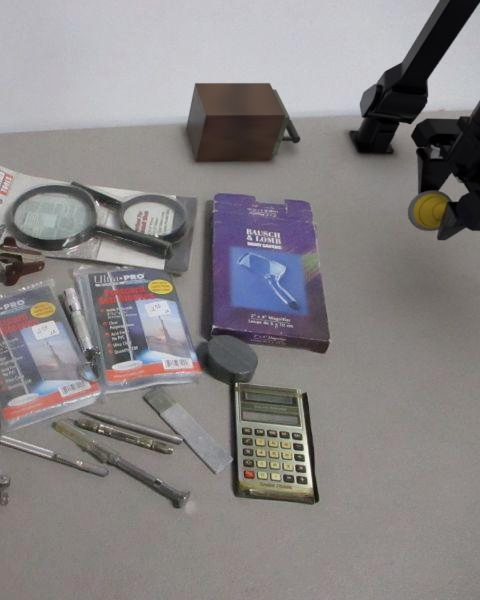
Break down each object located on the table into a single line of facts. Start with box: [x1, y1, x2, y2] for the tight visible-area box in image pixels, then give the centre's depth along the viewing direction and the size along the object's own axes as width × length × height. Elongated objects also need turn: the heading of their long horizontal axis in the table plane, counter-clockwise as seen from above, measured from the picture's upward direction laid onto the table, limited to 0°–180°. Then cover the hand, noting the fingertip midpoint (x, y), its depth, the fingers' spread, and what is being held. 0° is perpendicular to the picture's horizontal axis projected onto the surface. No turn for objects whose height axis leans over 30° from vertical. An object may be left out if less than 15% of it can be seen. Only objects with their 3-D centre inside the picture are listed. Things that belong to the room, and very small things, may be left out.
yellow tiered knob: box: [407, 190, 452, 232], centre depth 78 cm, size 5×5×10 cm
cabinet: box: [185, 82, 285, 163], centre depth 104 cm, size 13×10×9 cm
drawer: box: [272, 88, 301, 156], centre depth 105 cm, size 16×9×8 cm, turn 93°
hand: (431, 222), depth 79 cm, fingers closed on yellow tiered knob, 6 cm apart
